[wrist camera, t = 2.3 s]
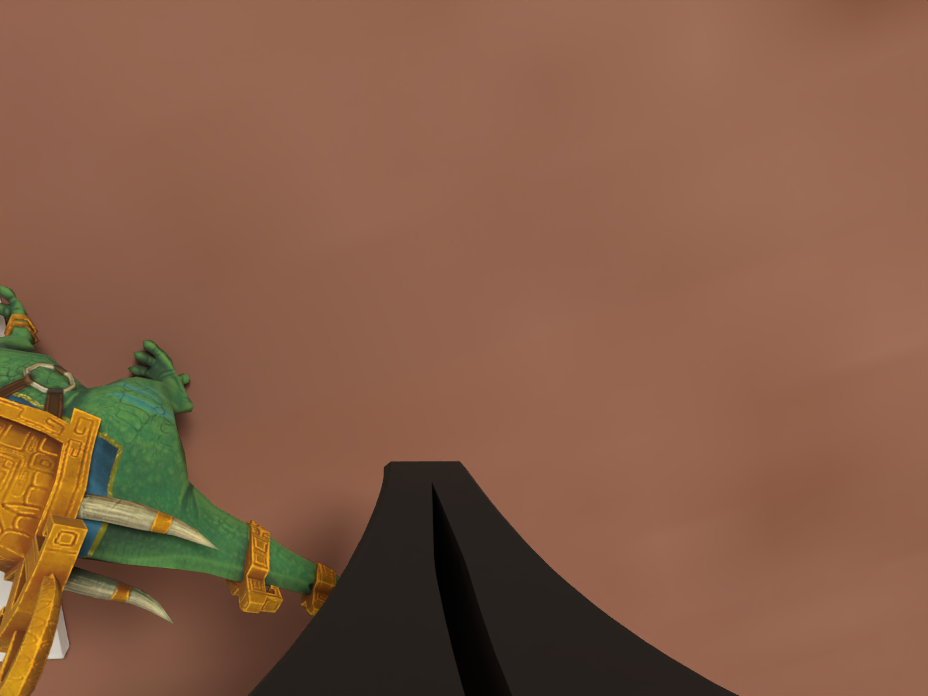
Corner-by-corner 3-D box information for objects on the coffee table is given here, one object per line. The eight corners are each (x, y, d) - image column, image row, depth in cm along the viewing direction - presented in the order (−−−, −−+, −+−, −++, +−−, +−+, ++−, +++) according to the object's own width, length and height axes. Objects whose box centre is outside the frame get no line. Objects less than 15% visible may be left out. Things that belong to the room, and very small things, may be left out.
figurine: (-160, 189, 12) (-865, 371, 5) (388, 430, 17) (463, 704, 10) (-212, 325, 13) (-900, 672, 5) (331, 519, 17) (359, 839, 10)
